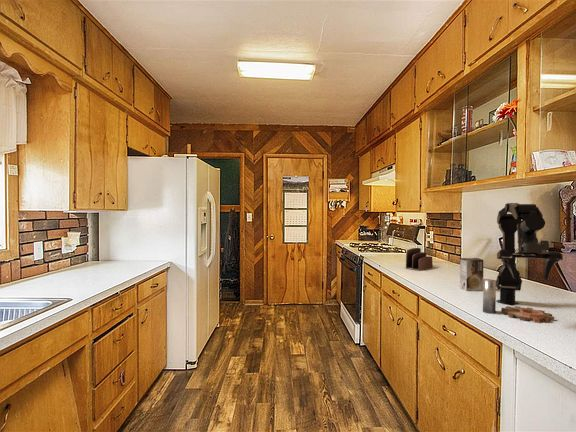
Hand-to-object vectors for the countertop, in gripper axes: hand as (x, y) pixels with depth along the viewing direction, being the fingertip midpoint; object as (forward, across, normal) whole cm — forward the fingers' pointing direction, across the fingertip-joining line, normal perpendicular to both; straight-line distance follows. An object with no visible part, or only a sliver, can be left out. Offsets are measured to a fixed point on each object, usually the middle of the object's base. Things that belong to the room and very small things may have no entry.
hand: (529, 279), depth 119 cm
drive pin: (+12, -10, +17) cm, 23 cm away
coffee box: (+1, -12, +56) cm, 57 cm away
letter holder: (-15, -37, +110) cm, 117 cm away
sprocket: (+12, +3, +18) cm, 22 cm away
